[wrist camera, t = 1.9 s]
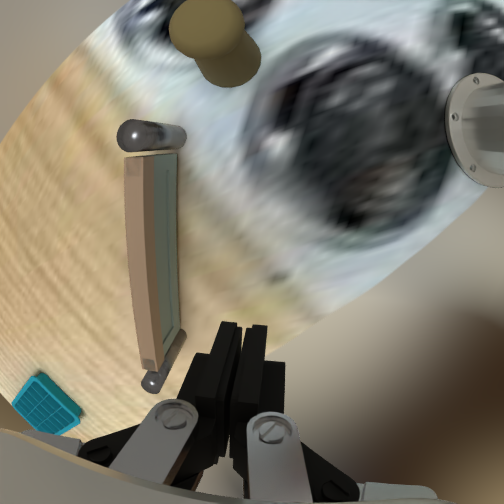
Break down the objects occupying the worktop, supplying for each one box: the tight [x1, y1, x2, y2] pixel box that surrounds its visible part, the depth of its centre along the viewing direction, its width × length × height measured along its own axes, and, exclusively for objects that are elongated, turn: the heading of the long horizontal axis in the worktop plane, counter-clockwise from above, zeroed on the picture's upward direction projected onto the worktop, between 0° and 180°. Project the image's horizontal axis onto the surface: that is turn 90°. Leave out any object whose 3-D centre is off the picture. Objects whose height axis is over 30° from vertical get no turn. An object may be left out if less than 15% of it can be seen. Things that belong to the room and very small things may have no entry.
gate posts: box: [117, 119, 187, 394], centre depth 28 cm, size 2×24×10 cm, turn 177°
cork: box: [169, 0, 261, 88], centre depth 21 cm, size 6×6×11 cm
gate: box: [124, 154, 180, 372], centre depth 28 cm, size 19×2×8 cm, turn 177°
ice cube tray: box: [12, 373, 81, 436], centre depth 46 cm, size 12×20×3 cm, turn 132°
